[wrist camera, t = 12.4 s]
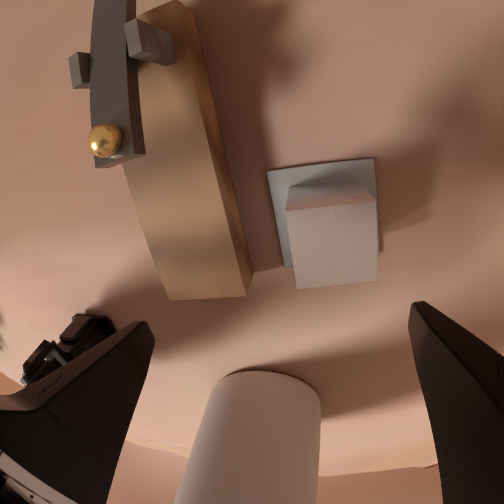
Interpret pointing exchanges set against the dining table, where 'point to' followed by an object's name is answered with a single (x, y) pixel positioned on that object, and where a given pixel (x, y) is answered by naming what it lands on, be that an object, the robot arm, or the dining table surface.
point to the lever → (114, 87)
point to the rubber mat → (313, 175)
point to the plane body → (181, 161)
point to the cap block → (332, 233)
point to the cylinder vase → (255, 443)
